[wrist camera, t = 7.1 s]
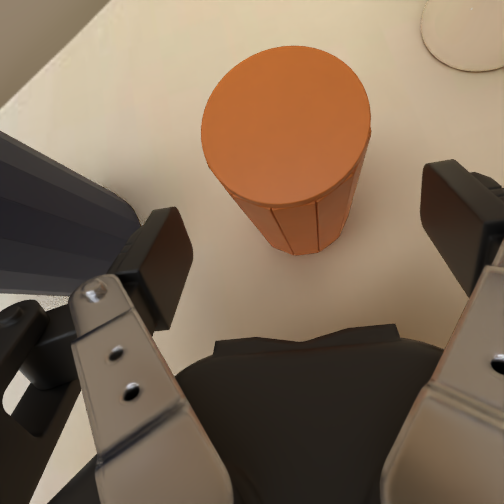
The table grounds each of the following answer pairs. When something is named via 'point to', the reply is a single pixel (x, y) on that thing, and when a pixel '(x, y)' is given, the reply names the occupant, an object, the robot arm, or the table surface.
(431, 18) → the silver metal tumbler
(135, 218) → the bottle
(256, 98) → the grooved orange cylinder
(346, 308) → the table surface
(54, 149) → the table surface
